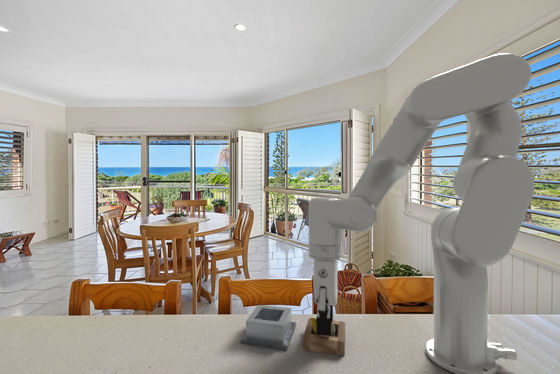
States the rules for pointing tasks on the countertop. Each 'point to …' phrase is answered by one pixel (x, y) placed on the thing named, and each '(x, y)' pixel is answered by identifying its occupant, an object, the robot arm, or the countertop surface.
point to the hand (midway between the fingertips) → (325, 326)
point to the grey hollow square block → (269, 328)
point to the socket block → (325, 340)
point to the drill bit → (314, 324)
